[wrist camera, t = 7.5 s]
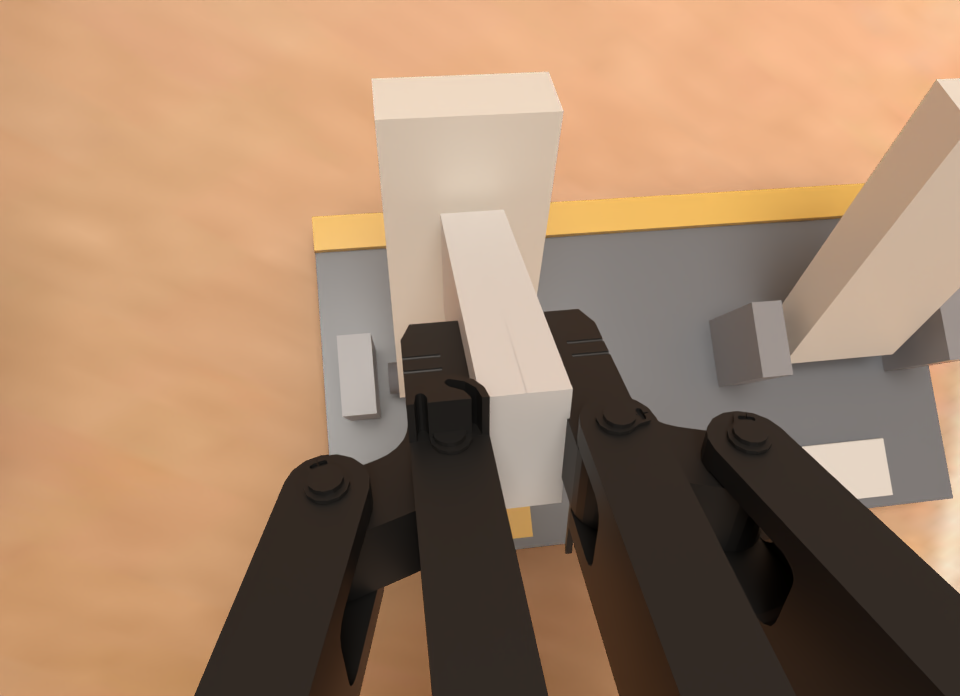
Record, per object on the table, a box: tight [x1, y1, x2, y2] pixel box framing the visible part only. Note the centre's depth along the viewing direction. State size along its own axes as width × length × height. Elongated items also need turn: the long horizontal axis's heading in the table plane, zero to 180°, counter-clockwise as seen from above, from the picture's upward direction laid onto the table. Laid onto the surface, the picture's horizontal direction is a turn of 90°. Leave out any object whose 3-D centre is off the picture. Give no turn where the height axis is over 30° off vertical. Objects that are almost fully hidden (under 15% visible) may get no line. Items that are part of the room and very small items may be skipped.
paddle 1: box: [372, 72, 564, 398], centre depth 19 cm, size 5×2×10 cm
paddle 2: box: [782, 78, 960, 364], centre depth 20 cm, size 5×2×10 cm, turn 96°
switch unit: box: [312, 183, 960, 550], centre depth 24 cm, size 22×12×5 cm, turn 96°
